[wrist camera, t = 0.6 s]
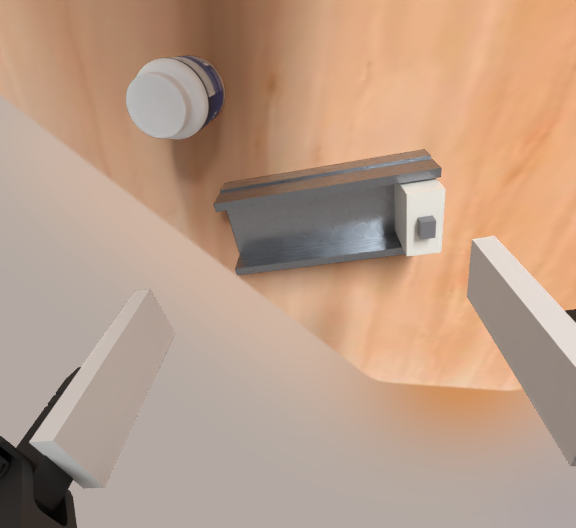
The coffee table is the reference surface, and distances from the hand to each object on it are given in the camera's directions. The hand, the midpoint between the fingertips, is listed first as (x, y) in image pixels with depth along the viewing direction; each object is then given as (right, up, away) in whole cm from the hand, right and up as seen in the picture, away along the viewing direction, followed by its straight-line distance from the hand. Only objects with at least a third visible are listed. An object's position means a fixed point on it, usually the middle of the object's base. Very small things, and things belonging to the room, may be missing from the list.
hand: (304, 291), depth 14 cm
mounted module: (+11, +7, +19) cm, 23 cm away
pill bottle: (-9, +17, +16) cm, 25 cm away
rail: (+3, +7, +22) cm, 23 cm away
